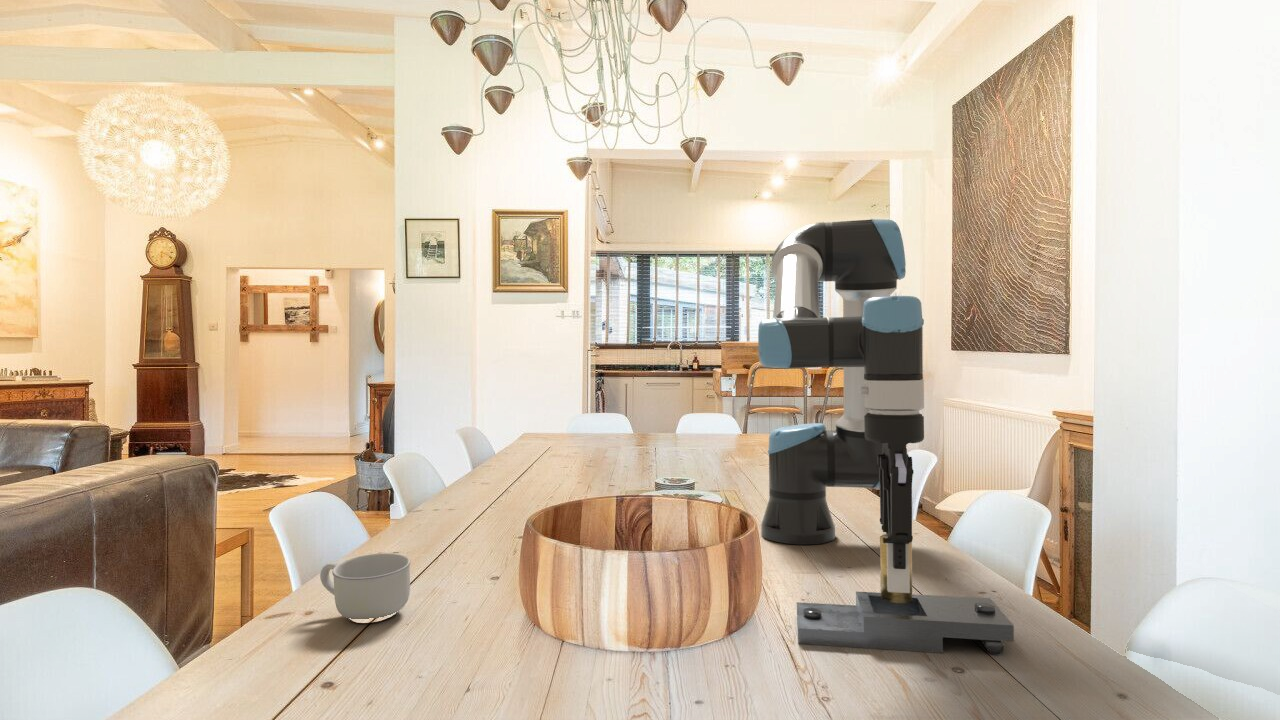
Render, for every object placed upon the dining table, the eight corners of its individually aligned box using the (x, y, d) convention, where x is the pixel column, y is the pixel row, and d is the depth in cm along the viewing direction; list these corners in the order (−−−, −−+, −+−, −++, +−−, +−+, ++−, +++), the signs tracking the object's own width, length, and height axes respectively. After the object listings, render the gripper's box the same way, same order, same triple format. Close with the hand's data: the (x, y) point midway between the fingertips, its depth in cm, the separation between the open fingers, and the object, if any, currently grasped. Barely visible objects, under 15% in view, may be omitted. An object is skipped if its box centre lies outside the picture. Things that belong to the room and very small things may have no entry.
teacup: (426, 609, 106) (425, 557, 107) (371, 635, 97) (370, 577, 97) (358, 597, 112) (358, 547, 112) (300, 621, 103) (299, 566, 103)
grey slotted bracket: (796, 616, 102) (796, 584, 102) (990, 627, 96) (990, 593, 96) (798, 643, 92) (797, 608, 92) (1014, 657, 87) (1013, 620, 87)
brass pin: (878, 592, 96) (878, 533, 96) (909, 593, 96) (908, 535, 96) (882, 601, 93) (881, 541, 93) (914, 603, 92) (914, 542, 92)
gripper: (858, 407, 103) (860, 567, 103) (871, 416, 87) (874, 606, 87) (912, 407, 101) (914, 570, 101) (936, 416, 85) (939, 609, 85)
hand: (896, 586), depth 94 cm, fingers closed on brass pin, 3 cm apart
